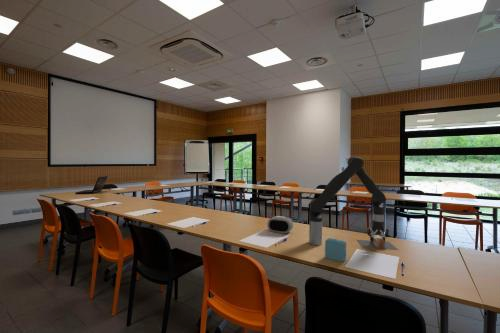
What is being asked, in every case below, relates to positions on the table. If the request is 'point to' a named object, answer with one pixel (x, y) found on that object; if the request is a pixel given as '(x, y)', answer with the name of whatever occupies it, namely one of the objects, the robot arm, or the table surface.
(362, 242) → the charcoal mat
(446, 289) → the table surface
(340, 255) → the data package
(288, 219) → the alarm clock
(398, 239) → the table surface
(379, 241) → the maple block
